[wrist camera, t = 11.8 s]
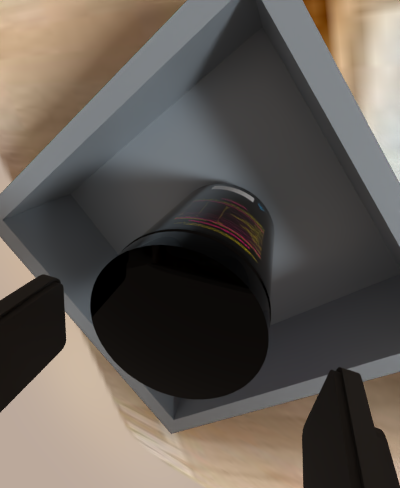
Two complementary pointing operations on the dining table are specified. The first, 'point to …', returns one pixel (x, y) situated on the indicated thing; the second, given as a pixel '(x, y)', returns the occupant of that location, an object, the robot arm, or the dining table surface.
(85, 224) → the tote
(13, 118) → the dining table surface
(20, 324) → the robot arm
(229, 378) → the supplement container
